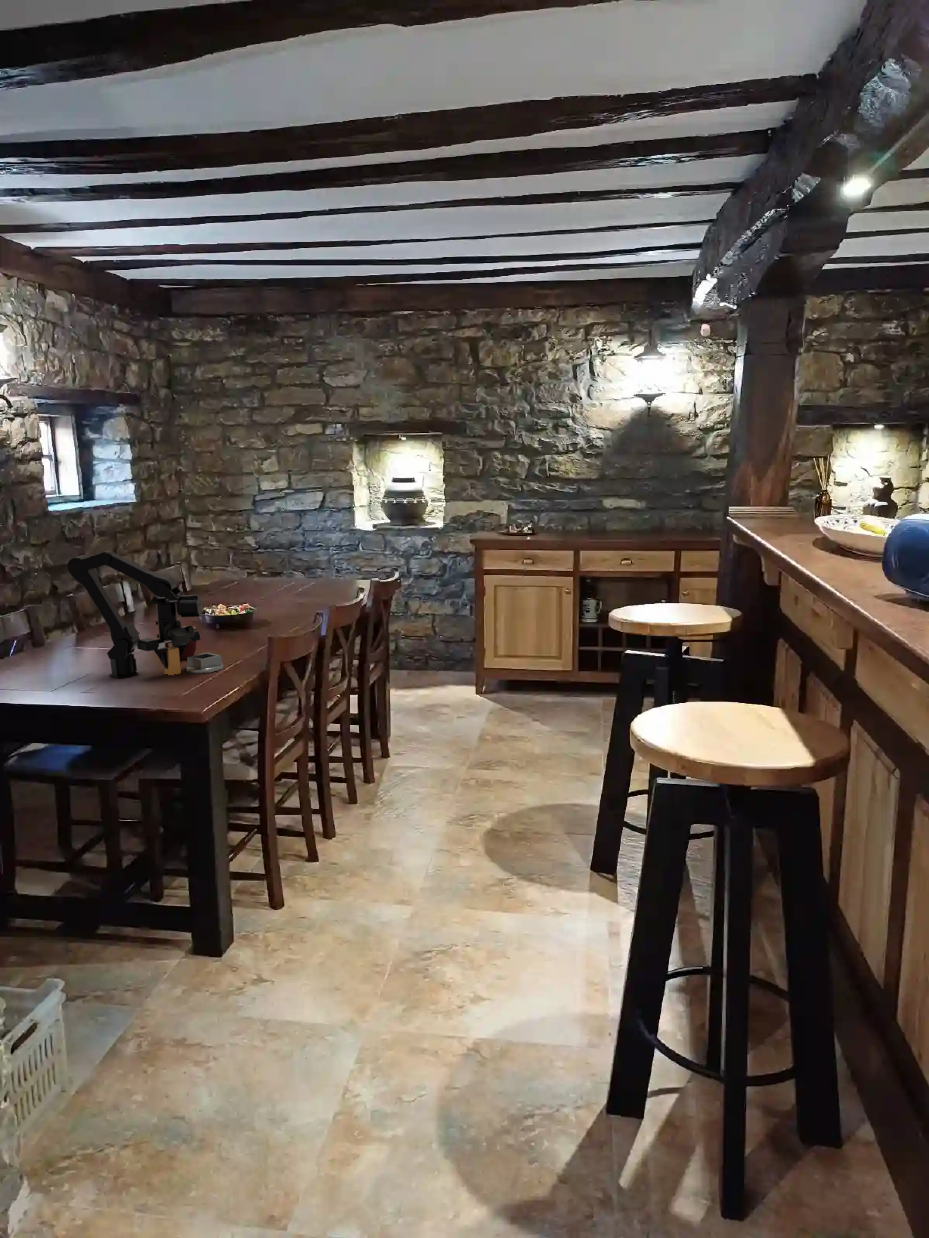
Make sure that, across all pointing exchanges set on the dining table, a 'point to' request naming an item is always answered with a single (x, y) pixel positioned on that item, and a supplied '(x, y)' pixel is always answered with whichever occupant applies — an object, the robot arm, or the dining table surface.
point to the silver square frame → (204, 663)
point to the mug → (187, 648)
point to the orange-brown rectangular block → (173, 661)
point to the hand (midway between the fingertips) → (172, 667)
